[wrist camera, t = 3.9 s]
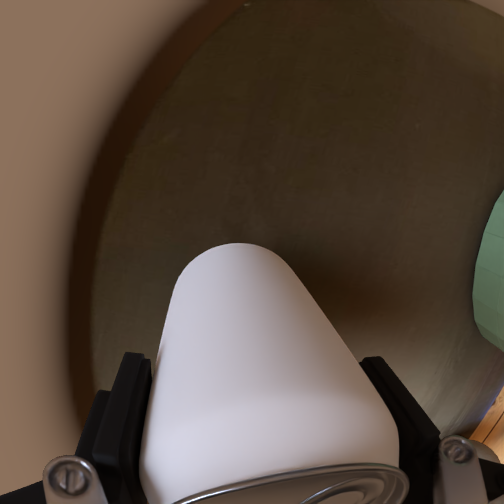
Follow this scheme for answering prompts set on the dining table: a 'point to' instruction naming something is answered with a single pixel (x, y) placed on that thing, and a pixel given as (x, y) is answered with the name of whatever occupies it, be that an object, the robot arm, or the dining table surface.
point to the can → (261, 396)
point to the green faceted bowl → (491, 279)
